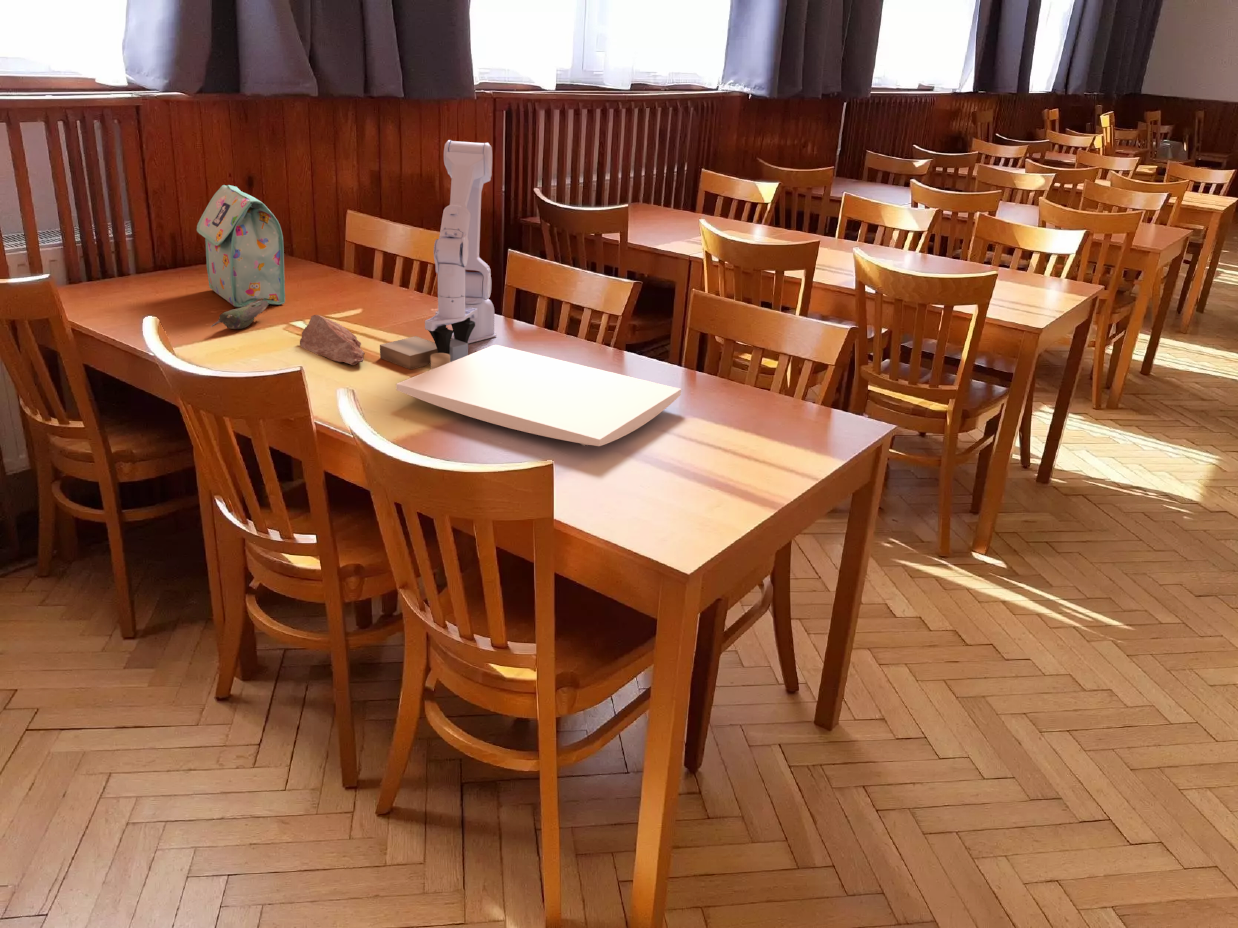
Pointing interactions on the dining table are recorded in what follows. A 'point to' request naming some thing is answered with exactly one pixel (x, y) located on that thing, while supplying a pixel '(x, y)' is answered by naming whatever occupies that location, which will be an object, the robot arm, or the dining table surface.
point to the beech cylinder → (439, 359)
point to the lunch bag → (243, 248)
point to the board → (542, 395)
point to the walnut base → (409, 352)
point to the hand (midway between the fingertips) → (452, 355)
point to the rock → (331, 341)
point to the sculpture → (242, 315)
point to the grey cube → (458, 349)
